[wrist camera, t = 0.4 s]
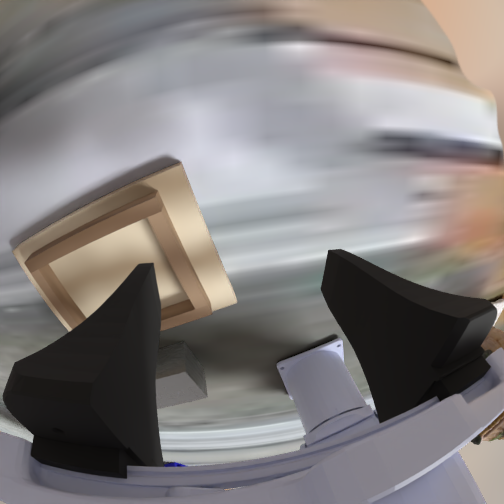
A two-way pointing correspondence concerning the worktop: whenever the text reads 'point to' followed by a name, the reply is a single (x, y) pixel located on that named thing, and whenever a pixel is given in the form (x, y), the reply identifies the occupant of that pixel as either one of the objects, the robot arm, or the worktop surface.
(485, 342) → the cookie jar
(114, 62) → the worktop surface
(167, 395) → the block
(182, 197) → the tray
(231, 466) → the robot arm
